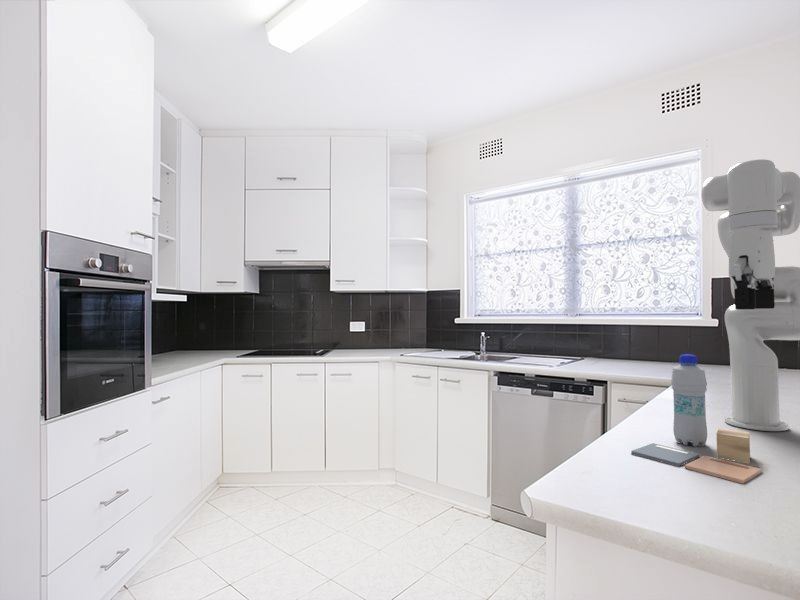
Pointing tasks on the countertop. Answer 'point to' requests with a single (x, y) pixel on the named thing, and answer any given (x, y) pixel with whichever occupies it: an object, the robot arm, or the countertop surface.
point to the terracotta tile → (724, 469)
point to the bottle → (689, 401)
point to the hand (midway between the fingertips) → (755, 308)
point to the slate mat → (665, 454)
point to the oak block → (733, 445)
